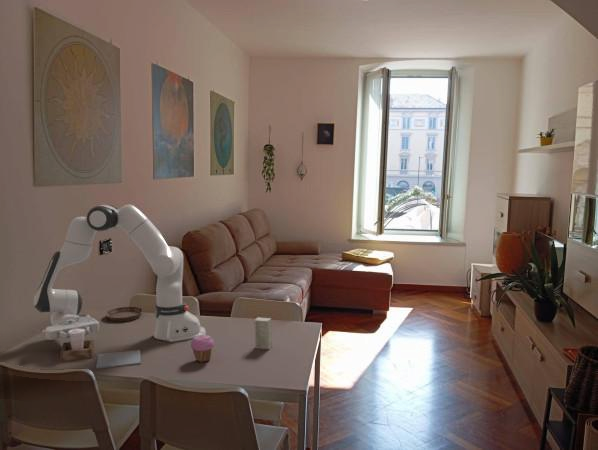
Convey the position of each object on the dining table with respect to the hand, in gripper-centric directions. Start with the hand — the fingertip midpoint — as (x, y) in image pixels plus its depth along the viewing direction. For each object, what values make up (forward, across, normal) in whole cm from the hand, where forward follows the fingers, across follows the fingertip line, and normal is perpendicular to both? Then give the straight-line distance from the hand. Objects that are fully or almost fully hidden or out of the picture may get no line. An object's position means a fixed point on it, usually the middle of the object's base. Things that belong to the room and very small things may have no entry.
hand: (77, 334), depth 209 cm
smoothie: (-1, 0, +9) cm, 9 cm away
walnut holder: (-1, 0, +8) cm, 9 cm away
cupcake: (+35, +37, +9) cm, 52 cm away
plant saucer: (-40, +32, +9) cm, 52 cm away
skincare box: (+37, +64, +9) cm, 74 cm away
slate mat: (+15, +11, +8) cm, 20 cm away
